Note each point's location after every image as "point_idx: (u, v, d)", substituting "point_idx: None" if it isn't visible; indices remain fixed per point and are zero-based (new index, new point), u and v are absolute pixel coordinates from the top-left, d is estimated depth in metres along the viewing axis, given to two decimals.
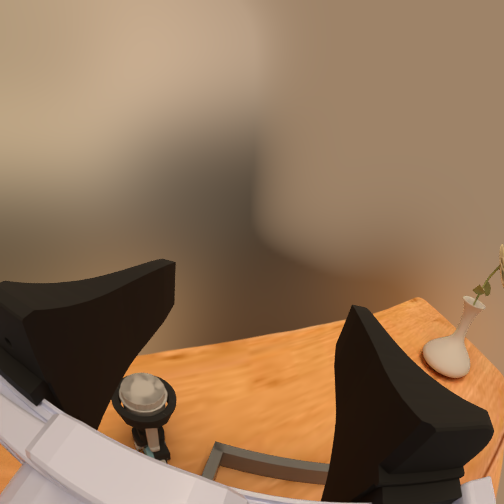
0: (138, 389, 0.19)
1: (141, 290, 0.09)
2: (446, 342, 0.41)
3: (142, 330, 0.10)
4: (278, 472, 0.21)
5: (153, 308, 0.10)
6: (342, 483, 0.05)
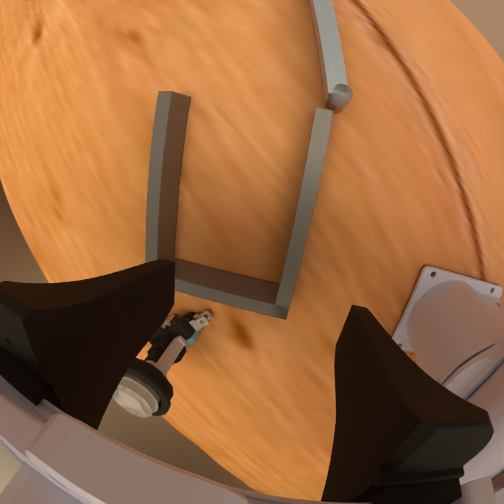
0: (133, 405, 0.17)
1: (141, 290, 0.09)
2: None
3: (142, 330, 0.10)
4: (170, 194, 0.20)
5: (153, 308, 0.10)
6: (342, 482, 0.05)
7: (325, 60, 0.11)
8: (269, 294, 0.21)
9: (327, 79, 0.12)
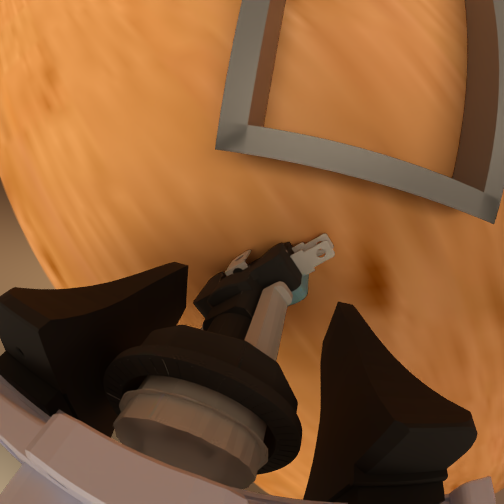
0: (192, 468, 0.05)
1: (155, 295, 0.09)
2: None
3: None
4: (278, 4, 0.08)
5: (166, 312, 0.10)
6: (322, 481, 0.05)
7: None
8: None
9: None
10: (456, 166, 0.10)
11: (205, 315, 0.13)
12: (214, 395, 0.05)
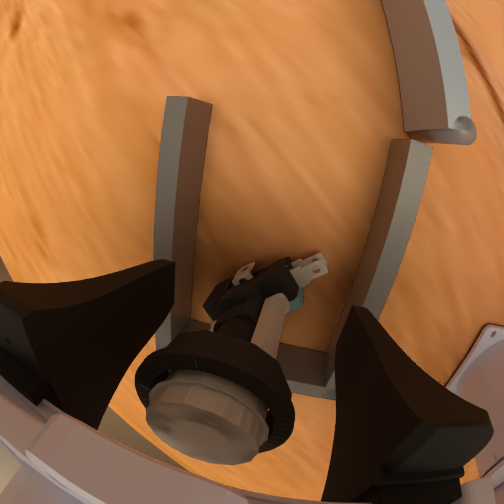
0: (208, 444, 0.07)
1: (141, 290, 0.09)
2: None
3: (142, 330, 0.10)
4: (185, 246, 0.15)
5: (153, 308, 0.10)
6: (341, 483, 0.05)
7: (443, 75, 0.06)
8: (316, 371, 0.15)
9: (446, 105, 0.07)
10: (329, 346, 0.17)
11: (213, 317, 0.14)
12: (230, 385, 0.07)
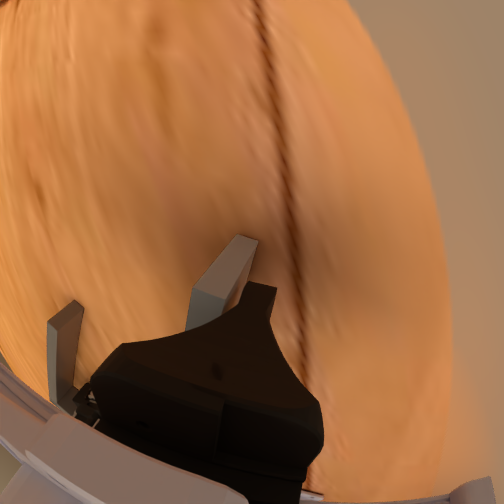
0: None
1: None
2: None
3: None
4: (66, 368, 0.19)
5: None
6: None
7: None
8: None
9: None
10: None
11: None
12: None
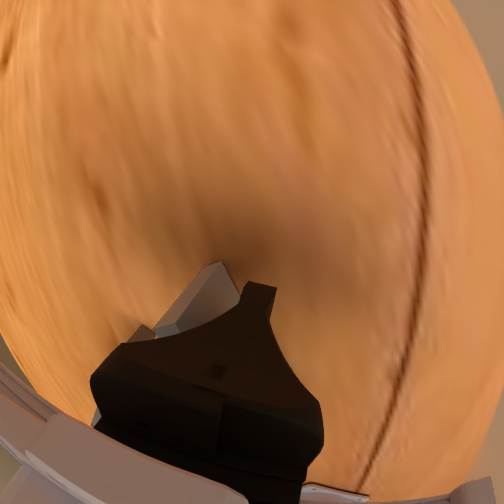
0: None
1: None
2: None
3: None
4: None
5: None
6: None
7: None
8: None
9: None
10: None
11: None
12: None
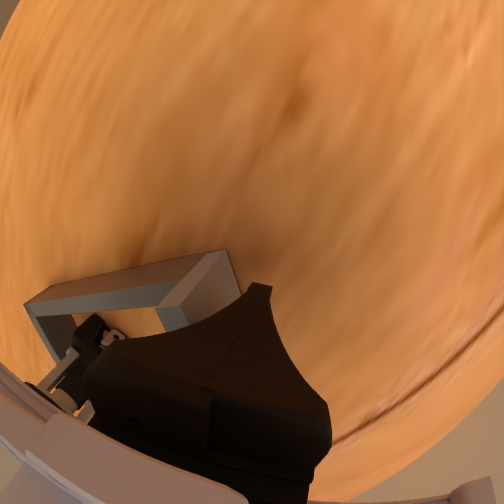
0: None
1: None
2: None
3: None
4: None
5: None
6: None
7: None
8: None
9: None
10: None
11: (73, 342, 0.15)
12: None
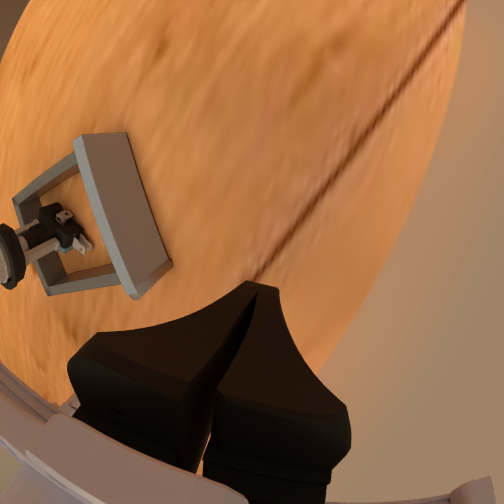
0: None
1: (243, 320, 0.08)
2: None
3: None
4: (56, 181, 0.21)
5: (245, 335, 0.10)
6: None
7: (116, 270, 0.17)
8: (53, 276, 0.24)
9: (122, 284, 0.18)
10: (68, 274, 0.26)
11: (38, 216, 0.21)
12: (8, 260, 0.15)
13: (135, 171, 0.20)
